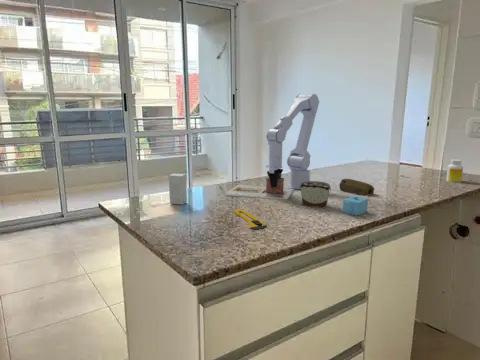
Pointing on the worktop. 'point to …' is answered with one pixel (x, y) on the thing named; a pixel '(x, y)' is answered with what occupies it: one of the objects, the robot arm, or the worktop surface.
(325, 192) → the food container
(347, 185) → the brown cylinder
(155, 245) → the worktop surface
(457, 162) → the supplement bottle
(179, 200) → the skincare box
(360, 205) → the blue lidded box
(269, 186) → the lighter
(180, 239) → the worktop surface
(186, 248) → the worktop surface
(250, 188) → the rail plate
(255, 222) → the utility knife
